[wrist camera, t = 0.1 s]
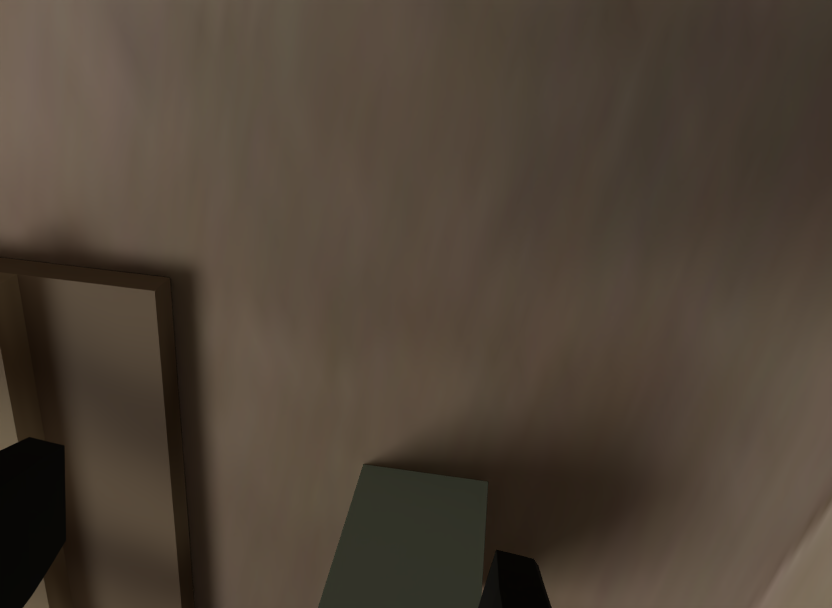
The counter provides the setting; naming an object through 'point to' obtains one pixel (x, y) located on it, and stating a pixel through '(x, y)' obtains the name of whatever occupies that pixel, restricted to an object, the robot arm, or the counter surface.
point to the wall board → (101, 428)
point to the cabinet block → (410, 543)
